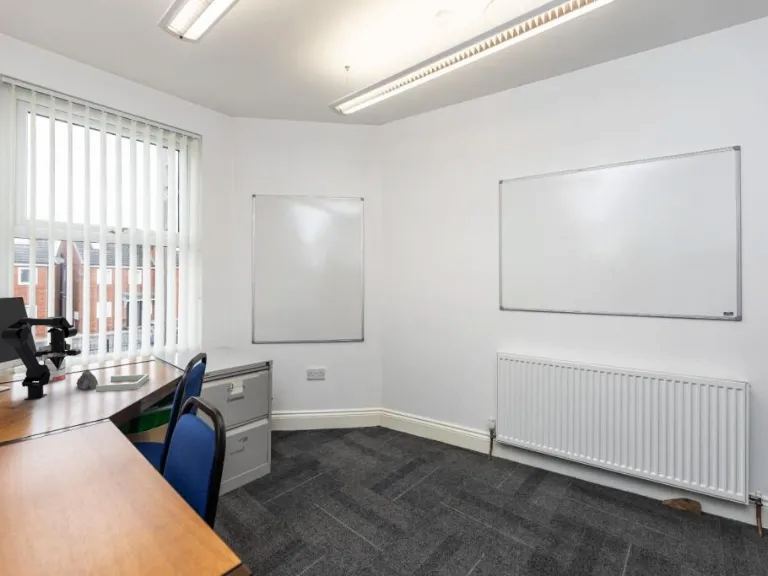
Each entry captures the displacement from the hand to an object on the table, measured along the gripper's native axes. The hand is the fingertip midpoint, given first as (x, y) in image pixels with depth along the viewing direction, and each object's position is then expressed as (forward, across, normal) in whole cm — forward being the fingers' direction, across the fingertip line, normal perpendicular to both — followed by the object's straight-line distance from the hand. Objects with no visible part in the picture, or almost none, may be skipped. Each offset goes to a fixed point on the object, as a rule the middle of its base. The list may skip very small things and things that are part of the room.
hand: (58, 368), depth 201 cm
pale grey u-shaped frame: (+11, -30, 0) cm, 32 cm away
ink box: (+11, +11, -20) cm, 25 cm away
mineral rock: (+11, -13, 0) cm, 17 cm away
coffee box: (+11, +23, -43) cm, 50 cm away
